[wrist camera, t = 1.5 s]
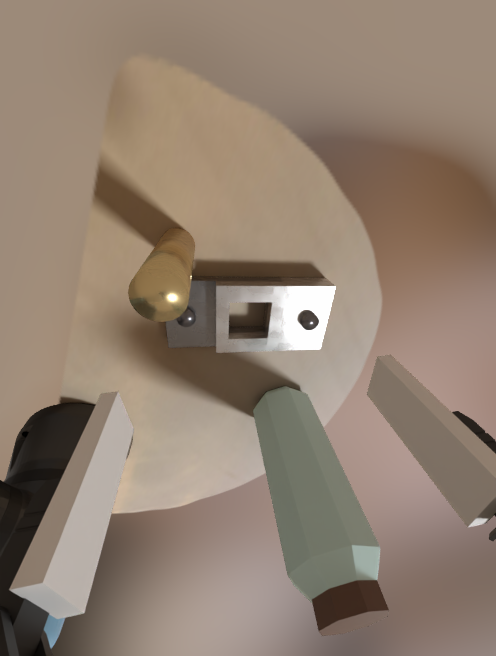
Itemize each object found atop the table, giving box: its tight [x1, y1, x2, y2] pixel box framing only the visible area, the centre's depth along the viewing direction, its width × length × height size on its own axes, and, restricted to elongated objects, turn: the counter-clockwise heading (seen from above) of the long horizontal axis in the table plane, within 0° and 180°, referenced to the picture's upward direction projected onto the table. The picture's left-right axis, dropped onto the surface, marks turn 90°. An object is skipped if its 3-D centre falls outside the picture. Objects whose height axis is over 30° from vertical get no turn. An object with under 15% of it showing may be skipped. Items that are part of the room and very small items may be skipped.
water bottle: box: [253, 386, 389, 636], centre depth 33 cm, size 10×10×25 cm
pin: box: [128, 228, 195, 322], centre depth 22 cm, size 4×4×14 cm
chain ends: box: [166, 276, 336, 353], centre depth 31 cm, size 20×9×4 cm, turn 87°
